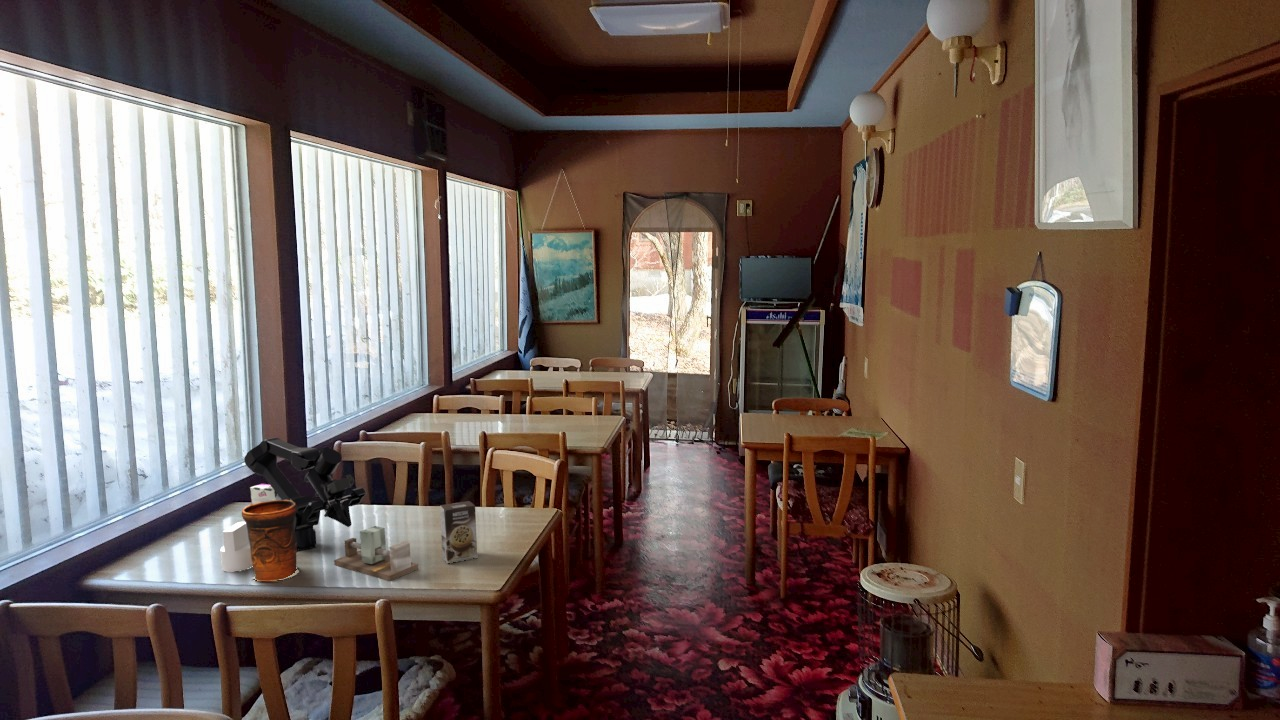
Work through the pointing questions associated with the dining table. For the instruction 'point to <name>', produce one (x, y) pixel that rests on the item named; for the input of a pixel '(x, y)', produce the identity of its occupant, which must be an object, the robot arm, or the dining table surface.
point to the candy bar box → (263, 493)
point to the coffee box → (458, 531)
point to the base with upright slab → (236, 548)
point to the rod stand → (384, 569)
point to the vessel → (272, 538)
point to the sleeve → (372, 544)
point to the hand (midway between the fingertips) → (349, 525)
